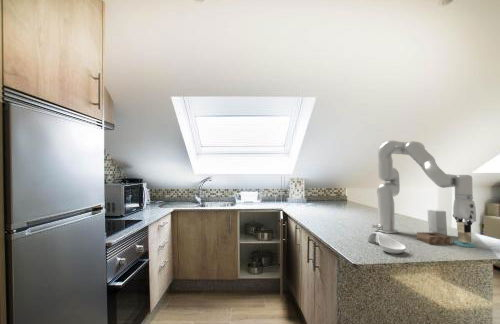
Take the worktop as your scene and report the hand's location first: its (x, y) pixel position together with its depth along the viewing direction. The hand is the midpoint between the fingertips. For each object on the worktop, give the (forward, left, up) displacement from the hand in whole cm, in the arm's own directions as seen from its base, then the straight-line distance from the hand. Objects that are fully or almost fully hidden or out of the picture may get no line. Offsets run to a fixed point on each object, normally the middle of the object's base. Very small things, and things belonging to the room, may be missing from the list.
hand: (464, 230), depth 142 cm
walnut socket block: (-12, +7, -8) cm, 16 cm away
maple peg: (0, 0, -6) cm, 6 cm away
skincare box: (+1, +21, -8) cm, 22 cm away
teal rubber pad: (0, 0, -8) cm, 8 cm away
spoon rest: (-47, -4, -8) cm, 48 cm away
